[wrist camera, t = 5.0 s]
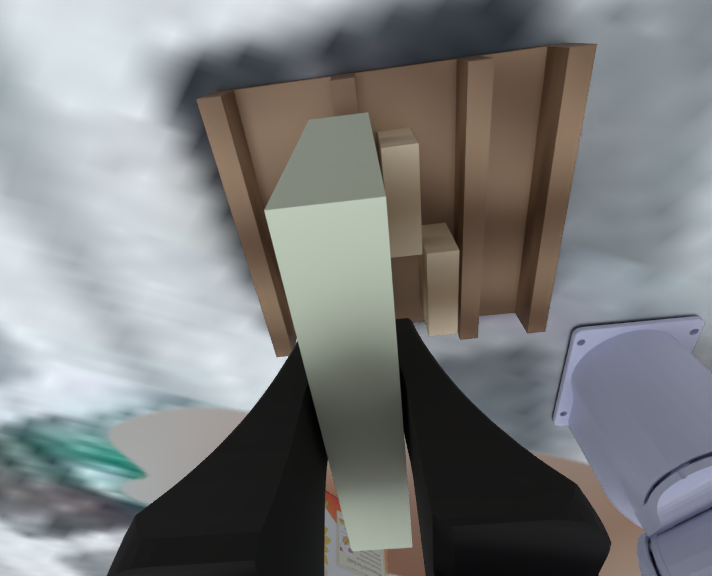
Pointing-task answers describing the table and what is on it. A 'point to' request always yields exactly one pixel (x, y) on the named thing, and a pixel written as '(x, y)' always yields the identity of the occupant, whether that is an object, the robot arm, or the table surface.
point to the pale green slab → (346, 319)
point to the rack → (429, 169)
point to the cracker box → (347, 548)
